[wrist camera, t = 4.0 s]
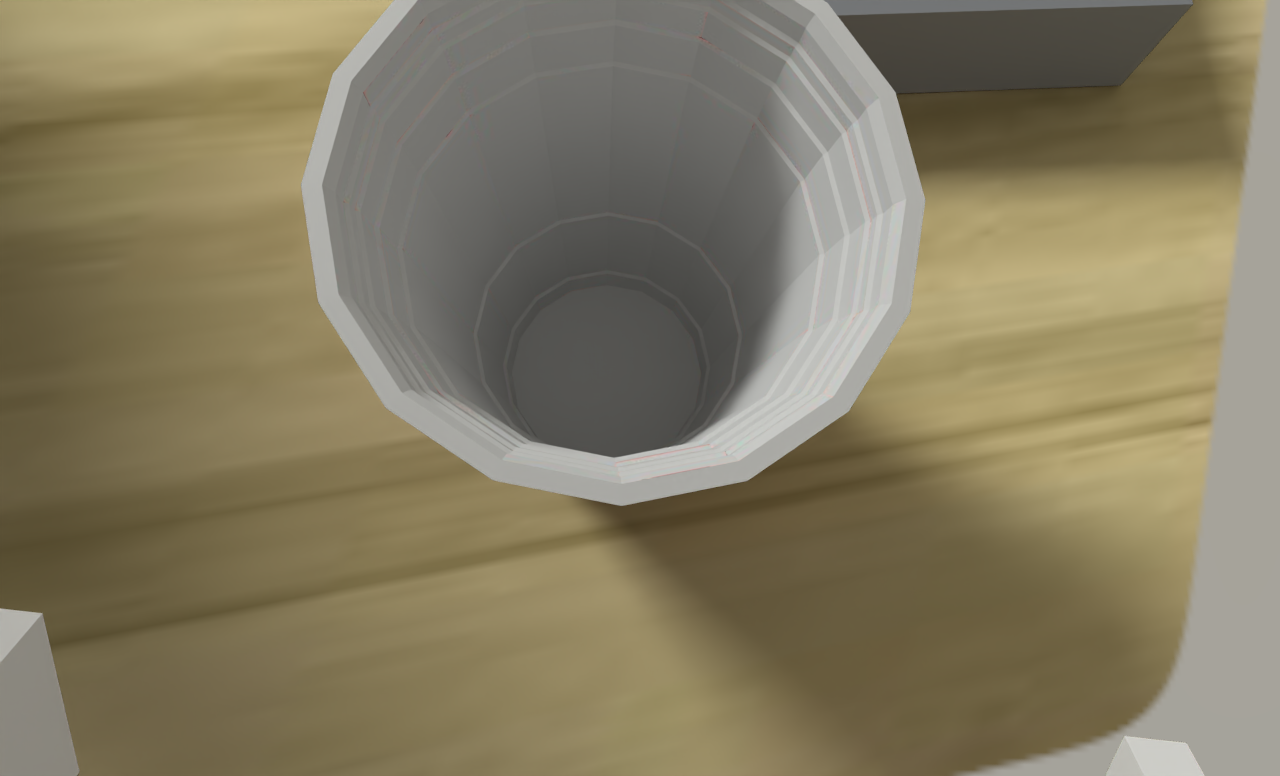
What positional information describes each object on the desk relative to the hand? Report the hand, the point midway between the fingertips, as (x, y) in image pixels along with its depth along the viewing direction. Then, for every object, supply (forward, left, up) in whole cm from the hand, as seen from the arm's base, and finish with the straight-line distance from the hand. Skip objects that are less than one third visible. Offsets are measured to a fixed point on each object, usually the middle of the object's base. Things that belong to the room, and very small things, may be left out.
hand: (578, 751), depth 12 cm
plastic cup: (+1, +9, -14) cm, 17 cm away
